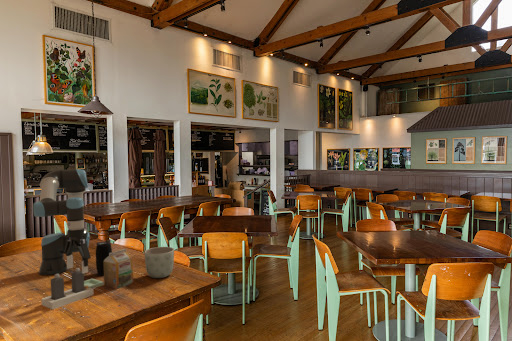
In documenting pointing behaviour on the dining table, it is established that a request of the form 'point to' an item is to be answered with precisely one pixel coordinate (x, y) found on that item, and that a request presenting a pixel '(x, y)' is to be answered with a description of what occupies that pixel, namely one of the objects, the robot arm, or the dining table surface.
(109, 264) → the milk carton
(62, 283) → the twin plug
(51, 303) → the beige flat rimmed piece
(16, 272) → the dining table surface
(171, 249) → the planter
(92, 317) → the dining table surface
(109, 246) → the portable speaker
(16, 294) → the dining table surface
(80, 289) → the plug
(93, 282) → the tray
